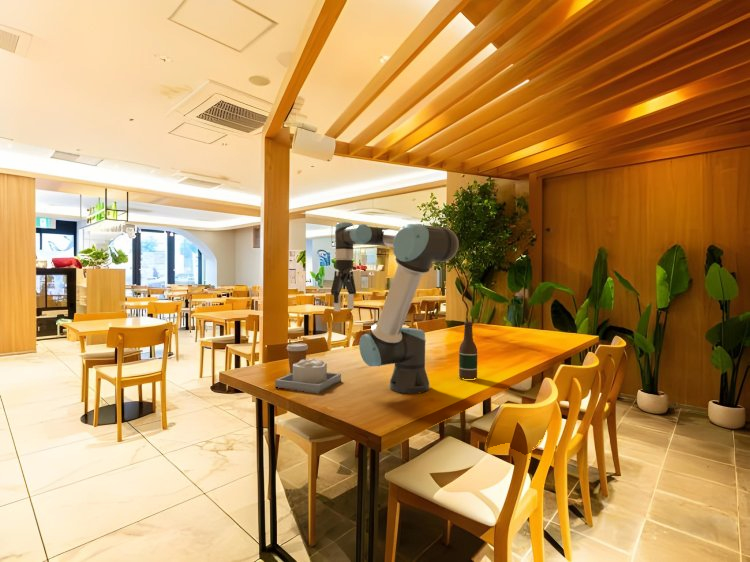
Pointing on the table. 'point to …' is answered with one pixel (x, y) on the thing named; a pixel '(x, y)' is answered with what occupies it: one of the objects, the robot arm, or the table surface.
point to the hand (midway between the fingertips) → (344, 310)
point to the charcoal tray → (307, 387)
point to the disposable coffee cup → (296, 353)
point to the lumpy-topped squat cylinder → (310, 371)
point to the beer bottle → (468, 354)
